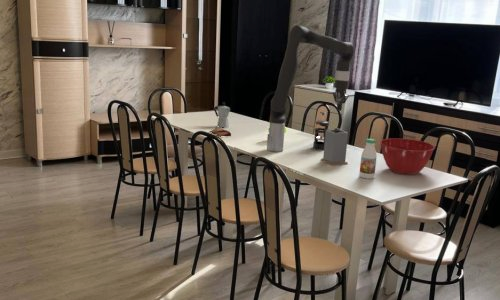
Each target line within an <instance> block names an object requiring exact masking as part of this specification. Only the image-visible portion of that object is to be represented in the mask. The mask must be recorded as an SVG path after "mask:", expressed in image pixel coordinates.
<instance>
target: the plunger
mask: <svg viewBox="0 0 500 300" xmlns="http://www.w3.org/2000/svg"><path fill="white" fill-rule="evenodd" d="M333 130H334V132H335V133H339V132H340V130H341V129H340V128H339V127H336V128H334V129H333Z"/></svg>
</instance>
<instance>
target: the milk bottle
mask: <svg viewBox="0 0 500 300" xmlns="http://www.w3.org/2000/svg"><path fill="white" fill-rule="evenodd" d="M375 146H376V139H374V138H366V139H365V146H364V148H363V150H362V153H361V155H360V156H361V157H360V165H359V174H358V175H359V178H363V179H368V180H371V179H374V178H375V175H376V166H377V157H378V156H377V151H376V148H375Z"/></svg>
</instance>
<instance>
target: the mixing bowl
mask: <svg viewBox="0 0 500 300" xmlns="http://www.w3.org/2000/svg"><path fill="white" fill-rule="evenodd" d="M379 143H380V147H381V152H382V156H383V160H384V162H385V165H386V166H387V168H388V169H390V170H391V171H392V172H393V173H396V174H399V175H416V174H419V173H420V172H421V171H422V170H423V169H424V168H425V167H426V165H427V164H428V162H429V161H430V159H431V158H432V155H433V152H434V150H435V149H436V146H435V145H433V144H432V143H430V142H426V141H422V140H417V139H411V138H385V139H381V140H380V142H379Z"/></svg>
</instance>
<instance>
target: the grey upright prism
mask: <svg viewBox="0 0 500 300" xmlns="http://www.w3.org/2000/svg"><path fill="white" fill-rule="evenodd" d="M339 130H340V132H339V133H335V132H334V129H330V130H326V133H324V134H325V144H324V150H323V156H322V157H323V158H320V161H321V162H324V163H325V164H327V165H329V166H340V165H341V164H343V165H349V164H348V161H346V157H347V150H348V149H347V146H348V138H349V132H348V131H345V130H342V129H339ZM341 166H342V165H341Z"/></svg>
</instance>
